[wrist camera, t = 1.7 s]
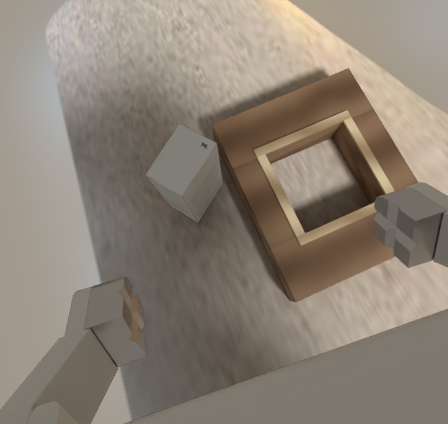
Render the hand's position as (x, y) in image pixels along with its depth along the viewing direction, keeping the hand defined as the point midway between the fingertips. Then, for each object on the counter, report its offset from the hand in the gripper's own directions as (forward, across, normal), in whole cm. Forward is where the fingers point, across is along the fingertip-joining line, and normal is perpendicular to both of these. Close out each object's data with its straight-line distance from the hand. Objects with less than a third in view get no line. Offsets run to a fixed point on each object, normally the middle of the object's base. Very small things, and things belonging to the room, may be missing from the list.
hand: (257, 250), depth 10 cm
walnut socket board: (+25, -14, +16) cm, 33 cm away
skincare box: (+28, +1, +14) cm, 31 cm away
